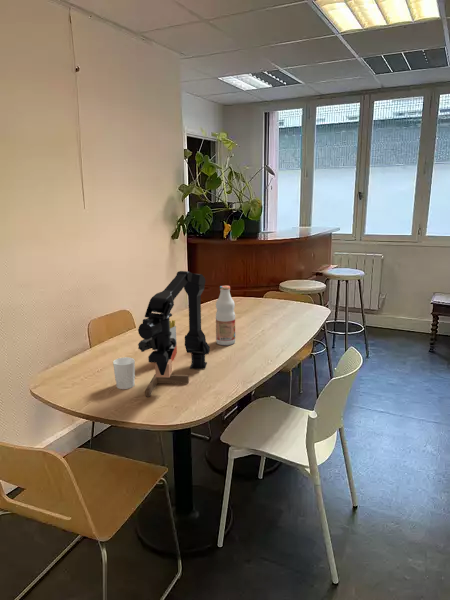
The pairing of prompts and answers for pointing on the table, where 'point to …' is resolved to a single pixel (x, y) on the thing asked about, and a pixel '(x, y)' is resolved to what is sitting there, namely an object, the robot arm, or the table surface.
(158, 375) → the light brown cube
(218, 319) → the fruit juice
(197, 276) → the robot arm
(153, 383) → the walnut fence
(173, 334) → the french fries container
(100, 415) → the table surface
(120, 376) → the white cup
